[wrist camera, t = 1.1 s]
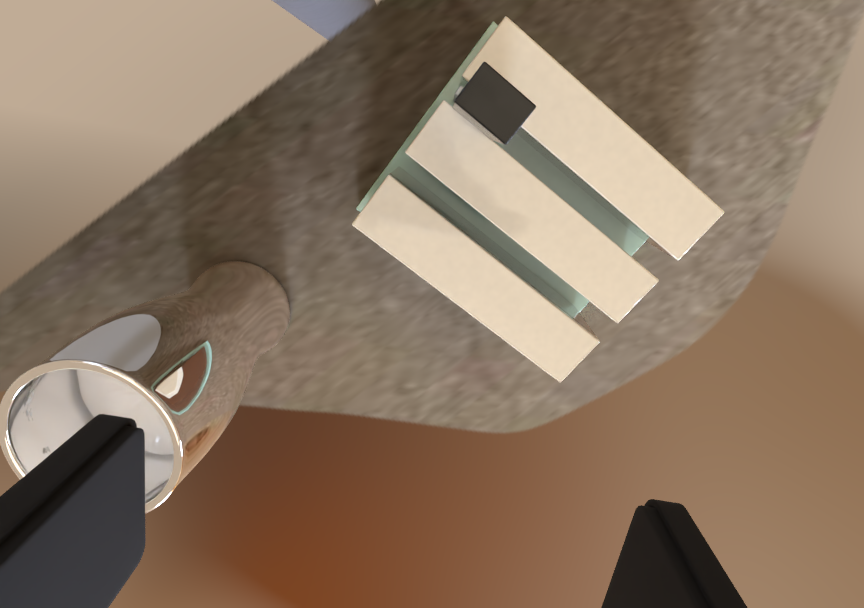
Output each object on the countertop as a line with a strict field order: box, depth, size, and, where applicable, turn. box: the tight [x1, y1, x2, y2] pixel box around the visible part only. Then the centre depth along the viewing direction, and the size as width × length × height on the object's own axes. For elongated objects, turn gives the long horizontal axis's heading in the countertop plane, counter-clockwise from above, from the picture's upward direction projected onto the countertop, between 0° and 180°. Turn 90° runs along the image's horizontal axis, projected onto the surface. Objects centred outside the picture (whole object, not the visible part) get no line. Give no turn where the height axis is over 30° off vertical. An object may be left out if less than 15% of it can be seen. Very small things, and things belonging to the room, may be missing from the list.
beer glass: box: [0, 261, 290, 514], centre depth 26 cm, size 7×7×15 cm
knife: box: [452, 61, 536, 145], centre depth 22 cm, size 2×1×14 cm, turn 52°
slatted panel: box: [352, 16, 724, 382], centre depth 28 cm, size 14×12×6 cm
